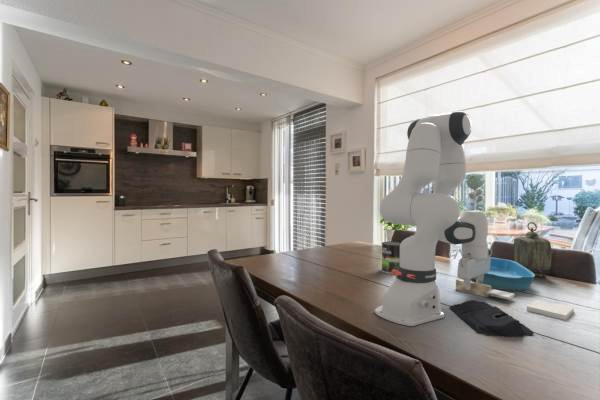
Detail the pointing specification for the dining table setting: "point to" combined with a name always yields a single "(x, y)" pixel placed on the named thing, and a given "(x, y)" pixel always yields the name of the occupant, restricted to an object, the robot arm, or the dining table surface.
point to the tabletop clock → (532, 251)
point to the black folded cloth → (489, 320)
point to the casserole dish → (507, 275)
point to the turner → (482, 290)
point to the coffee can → (390, 256)
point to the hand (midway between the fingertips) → (473, 287)
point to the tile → (550, 309)
